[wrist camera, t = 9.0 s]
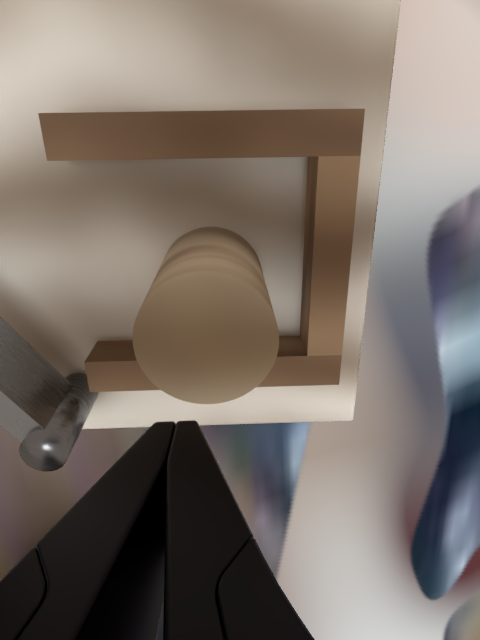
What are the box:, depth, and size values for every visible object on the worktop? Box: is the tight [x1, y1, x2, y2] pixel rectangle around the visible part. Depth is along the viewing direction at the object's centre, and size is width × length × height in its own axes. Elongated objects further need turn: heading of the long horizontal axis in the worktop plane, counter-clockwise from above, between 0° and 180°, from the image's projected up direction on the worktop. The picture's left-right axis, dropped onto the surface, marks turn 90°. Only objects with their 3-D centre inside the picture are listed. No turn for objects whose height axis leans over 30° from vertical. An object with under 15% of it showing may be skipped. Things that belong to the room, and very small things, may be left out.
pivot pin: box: [132, 227, 279, 404], centre depth 16 cm, size 4×4×6 cm
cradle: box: [0, 0, 401, 429], centre depth 17 cm, size 22×17×3 cm
